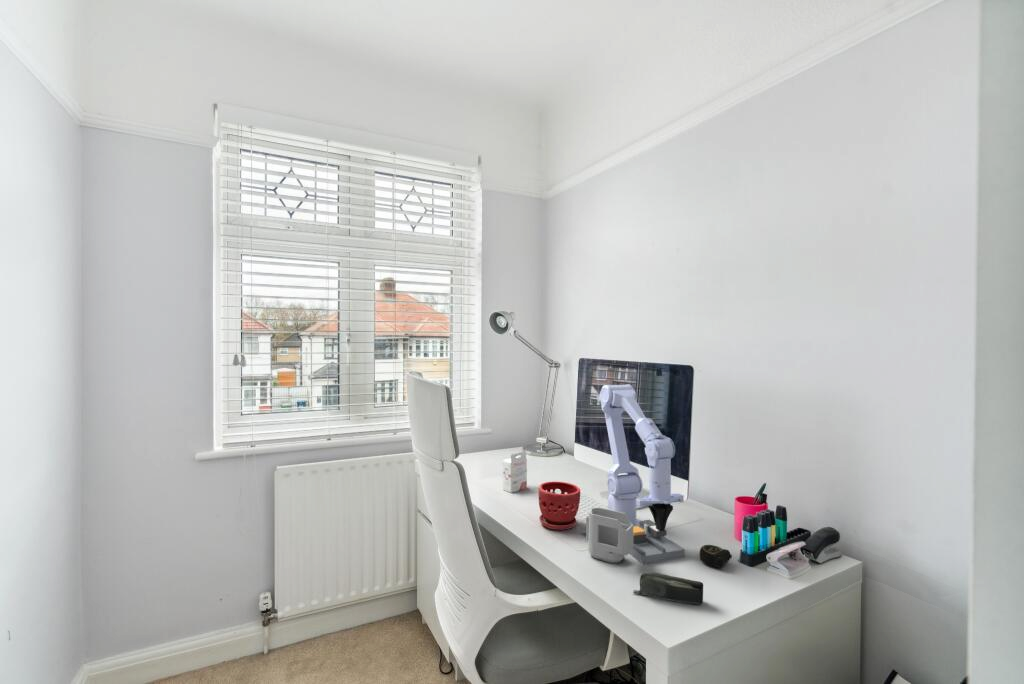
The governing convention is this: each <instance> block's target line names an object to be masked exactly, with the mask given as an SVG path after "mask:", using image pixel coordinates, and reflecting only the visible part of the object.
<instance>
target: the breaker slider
mask: <svg viewBox="0 0 1024 684" xmlns="http://www.w3.org/2000/svg"><path fill="white" fill-rule="evenodd" d="M633 543H634V544H642V543H646V534H645V531H644V530H643V529H641V528H640V527H638V526H635V527H633Z"/></svg>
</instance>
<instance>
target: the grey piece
mask: <svg viewBox="0 0 1024 684" xmlns="http://www.w3.org/2000/svg"><path fill="white" fill-rule="evenodd" d="M585 520H586V521H585V522H586V524H585V527H586V528H585V529H586V530H585V531H586V532H585V538H586V541H587V542H588V544H587V545H588V548H587V549H588V550H587V551H588V553H589V554H590V556H591V557H593V558H595V559H597V560H601V561H604V562H606V563H611V564H617V563H620V562H621V561H622V560H624V559H625V557H626V556H628V555H630V554H629V553H630V552H631V551H632V550H633V524H632V523H631V522H630V520H629V518H628V516H627V515H626V513H622V512H618V511H613V510H609V509H608V508H603V507H592V508H591V511H590V510H588V514H587V516H586V518H585ZM621 523H623V524H621ZM625 524H628V525H625Z"/></svg>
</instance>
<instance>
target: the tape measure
mask: <svg viewBox="0 0 1024 684" xmlns="http://www.w3.org/2000/svg"><path fill="white" fill-rule="evenodd" d="M732 558H733V554H731V552H730V550H728V549H725V548H724V549H723V548H722V547H720V546H718V545H714V544H704V545H702V546H701V547H700V549H699V560H700V561H701V562H702V563H703V564H705V565H706V566H710V567H714V568H719V569H721V568H723V567H724V566H725V565H726V564H727V563H728V562H730V560H731V559H732Z"/></svg>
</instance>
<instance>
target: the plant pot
mask: <svg viewBox="0 0 1024 684" xmlns="http://www.w3.org/2000/svg"><path fill="white" fill-rule="evenodd" d="M556 490H560V493H556ZM551 491H552V492H551ZM580 502H581V488H580V487H579V486H577V485H576V484H573V483H569V482H566V481H565V482H564V481H545V482H543V483H541V484H539V486H538V505H539V510H540V515H539V518H538V519H539V522H540V523H541V524H542V525H543V526H544V527H546V528H548V529H551V530H555V531H556V530H559V531H563V530H564V531H565V530H568V529H572V528H573V527H574V526H575V525H576V523H577V518H576V516H577V514H578V511H579V508H580Z"/></svg>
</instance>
